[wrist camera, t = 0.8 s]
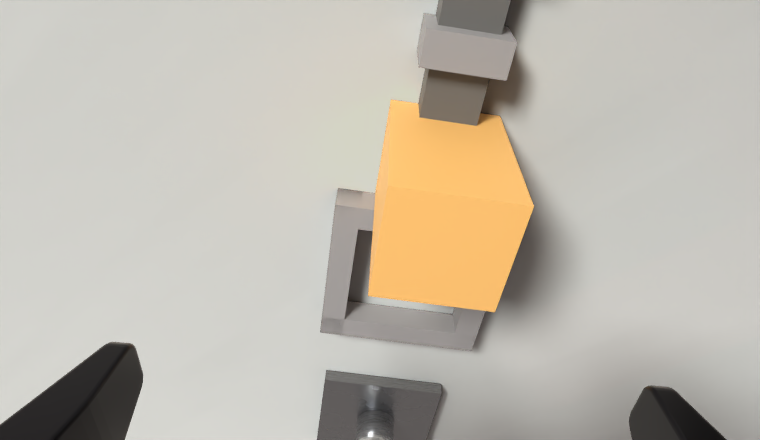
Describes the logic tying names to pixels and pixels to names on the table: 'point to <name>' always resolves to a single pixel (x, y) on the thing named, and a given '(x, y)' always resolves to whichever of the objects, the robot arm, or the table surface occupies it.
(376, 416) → the keeper
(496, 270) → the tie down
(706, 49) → the table surface
